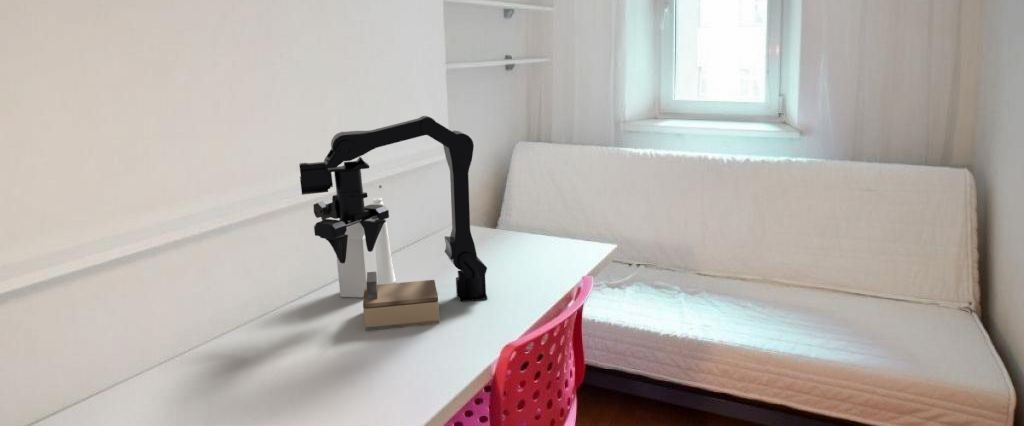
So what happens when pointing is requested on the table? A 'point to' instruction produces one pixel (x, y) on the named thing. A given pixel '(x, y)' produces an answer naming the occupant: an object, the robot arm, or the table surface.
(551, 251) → the table surface
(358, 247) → the milk carton
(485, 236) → the table surface
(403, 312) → the box
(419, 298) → the lid
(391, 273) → the cosmetic bottle
